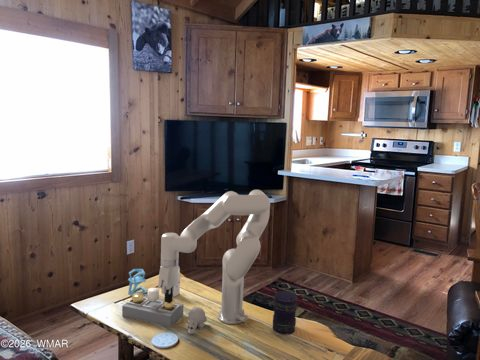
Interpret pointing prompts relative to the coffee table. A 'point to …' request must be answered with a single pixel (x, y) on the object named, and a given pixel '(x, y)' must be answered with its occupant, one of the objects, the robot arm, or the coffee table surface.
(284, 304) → the storage jar
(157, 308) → the grey compartment tray
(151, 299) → the white knob middle
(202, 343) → the coffee table surface
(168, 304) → the brass knob near
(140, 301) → the brass knob far
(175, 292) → the ink cartridge box
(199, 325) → the round bodied animal figurine
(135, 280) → the chair
